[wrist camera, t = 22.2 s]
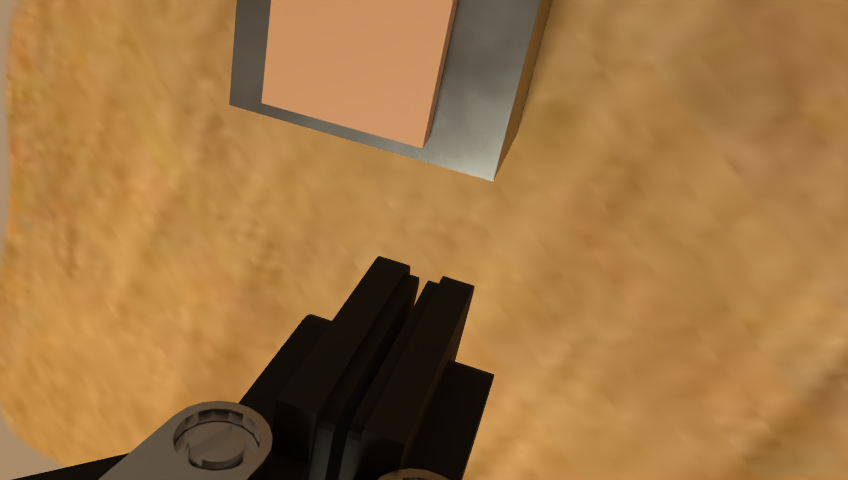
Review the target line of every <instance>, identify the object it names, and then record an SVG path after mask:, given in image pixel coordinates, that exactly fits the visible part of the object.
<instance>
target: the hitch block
mask: <svg viewBox="0 0 848 480" xmlns="http://www.w3.org/2000/svg"><path fill="white" fill-rule="evenodd" d="M551 4H552V0H458V2H457V7H456V12H455V17H454V21H453V26H452V31H451V36H450V40H449V45H448V50H447V55H446V59H445V64H444V69H443V74H442V78H441V83H440V88H439V93H438V97H437V102H436V107H435V112H434V117H433V121H432V126H431V131H430V136H429V140H428V142H427V143H426V144H425V146H424V147H423V148H419V147H415V146H412V145H408V144H405V143H401V142H398V141H394V140H391V139H387V138H383V137H380V136H376V135H373V134H369V133H366V132H362V131H359V130H355V129H352V128H348V127H345V126H341V125H338V124H334V123H330V122H327V121H323V120H320V119H316V118H313V117H309V116H306V115H302V114H299V113H295V112H292V111H288V110H284V109H281V108H277V107H274V106H270V105H267V104H263V103H262V92H263V82H264V71H265V60H266V50H267V39H268V28H269V18H270V7H271V0H237V6H236V20H235V34H234V48H233V62H232V75H231V89H230V103H229V105H232V106H235V107H239V108H242V109H245V110H249V111H252V112H256V113H259V114H263V115H266V116H269V117H273V118H276V119H280V120H283V121H287V122H290V123H294V124H297V125H300V126H304V127H307V128H311V129H314V130H318V131H321V132H324V133H328V134H331V135H335V136H338V137H342V138H345V139H348V140H352V141H355V142H359V143H362V144H366V145H369V146H373V147H376V148H379V149H383V150H386V151H390V152H393V153H397V154H400V155H403V156H407V157H410V158H414V159H417V160H421V161H424V162H428V163H431V164H434V165H438V166H441V167H445V168H448V169H452V170H455V171H458V172H462V173H465V174H469V175H472V176H476V177H479V178H482V179H486V180H489V181H494V179H495V177H496V175H497V173H498V171H499V169H500V167H501V165H502V163H503V161H504V159H505V157H506V155H507V153H508V151H509V149H510V147H511V145H512V143H513V141H514V139H515V137H516V134H517V130H518V127H519V123H520V119H521V115H522V112H523V108H524V104H525V100H526V97H527V93H528V89H529V86H530V82H531V78H532V74H533V71H534V67H535V63H536V60H537V56H538V52H539V48H540V45H541V41H542V37H543V34H544V30H545V26H546V22H547V19H548V15H549V11H550V7H551Z"/></svg>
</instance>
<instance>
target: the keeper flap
mask: <svg viewBox="0 0 848 480" xmlns="http://www.w3.org/2000/svg"><path fill="white" fill-rule="evenodd" d="M457 2H458V0H271V7H270V18H269V28H268V39H267V50H266V60H265V71H264V82H263V92H262V103H263V104H267V105H270V106H274V107H277V108H281V109H284V110H288V111H292V112H295V113H299V114H302V115H306V116H309V117H313V118H316V119H320V120H323V121H327V122H330V123H334V124H338V125H341V126H345V127H348V128H352V129H355V130H359V131H362V132H366V133H369V134H373V135H376V136H380V137H383V138H387V139H391V140H394V141H398V142H401V143H405V144H408V145H412V146H415V147H419V148H423V147H424V146H425V144H426V143H427V142H428V140H429V136H430V131H431V126H432V121H433V117H434V112H435V107H436V102H437V97H438V93H439V88H440V83H441V78H442V74H443V69H444V64H445V59H446V55H447V50H448V45H449V40H450V36H451V31H452V26H453V21H454V17H455V12H456V7H457Z"/></svg>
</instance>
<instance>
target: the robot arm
mask: <svg viewBox="0 0 848 480" xmlns="http://www.w3.org/2000/svg"><path fill="white" fill-rule="evenodd" d="M418 286H419V277H416V276H413V275H410V266H409V265H406V264H403V263H400V262H397V261H393V260H390V259H387V258H384V257H381V256H378V257H377V258H376V260H375V261H374V262H373V264H372V265H371V267H370V268H369V270H368V271H367V272H366V274H365V275H364V277H363V278H362V279H361V281H360V282H359V284H358V285H357V286H356V288H355V289H354V291H353V292H352V294H351V295H350V296H349V298H348V299H347V301H346V302H345V303H344V305H343V306H342V308H341V309H340V311H339V312H338V313H337V315H336V316H335V318H334V319H333V320H332V321H330V320H327V319H324V318H321V317H318V316H315V315H312V314H310V315H307V316H306V317H305V318H304V319H303V320H302V322H301V323H300V324H299V325H298V327H297V328H296V329H295V331H294V332H293V333H292V335H291V336H290V337H289V338H288V340H287V341H286V342H285V344H284V345H283V346H282V347H281V349H280V350H279V351H278V353H277V354H276V355H275V357H274V358H273V359H272V360H271V362H270V363H269V364H268V366H267V367H266V368H265V370H264V371H263V372H262V373H261V375H260V376H259V377H258V379H257V380H256V381H255V382H254V384H253V385H252V386H251V388H250V389H249V390H248V392H247V393H246V394H245V395H244V397H243V398H242V399H241V401H240V402H239V403H235V402H225V401H211V402H202V403H199V404H196V405H193V406H190V407H187V408H185V409H184V410H182V411H180V412H179V413H177V414H176V415H174V416H173V417H172V418H170V419H169V420H168V421H167V422H166V423H165V424H163V425H162V426H161V427H160V428H159V429H157V430H156V431H155V432H154V433H153V434H152V435H150V436H149V437H148V438H147V439H146V440H144V441H143V442H142V443H141V444H140V445H139V446H137V447H136V448H135V449H134V450H133V451H131V452H130V453H128V454H123V455H119V456H115V457H110V458H106V459H101V460H97V461H92V462H88V463H84V464H79V465H75V466H70V467H66V468H62V469H58V470H53V471H49V472H44V473H39V474H35V475H31V476H26V477H22V478H17V479H13V480H462V479H463V475H464V472H465V469H466V466H467V463H468V460H469V456H470V453H471V450H472V447H473V444H474V440H475V437H476V434H477V431H478V427H479V424H480V421H481V418H482V414H483V411H484V408H485V405H486V401H487V398H488V395H489V391H490V388H491V385H492V381H493V378H494V374H491V373H488V372H485V371H482V370H479V369H476V368H473V367H470V366H467V365H464V364H461V363H458V362H455V359H456V355H457V352H458V348H459V344H460V340H461V337H462V333H463V329H464V326H465V322H466V318H467V314H468V311H469V307H470V303H471V299H472V296H473V292H474V286H473V285H470V284H467V283H464V282H460V281H457V280H454V279H451V278H448V277H445V276H443V277H442V279H441V280H440V282H439V284H438V283H435V282H432V281H428V282H427V283H426V285H425V287H424V289H423V291H422V293H421V294H420V296H419V298H418V300H417V302H416V303H415V299H416V295H417V290H418ZM414 303H415V305H414Z"/></svg>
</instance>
